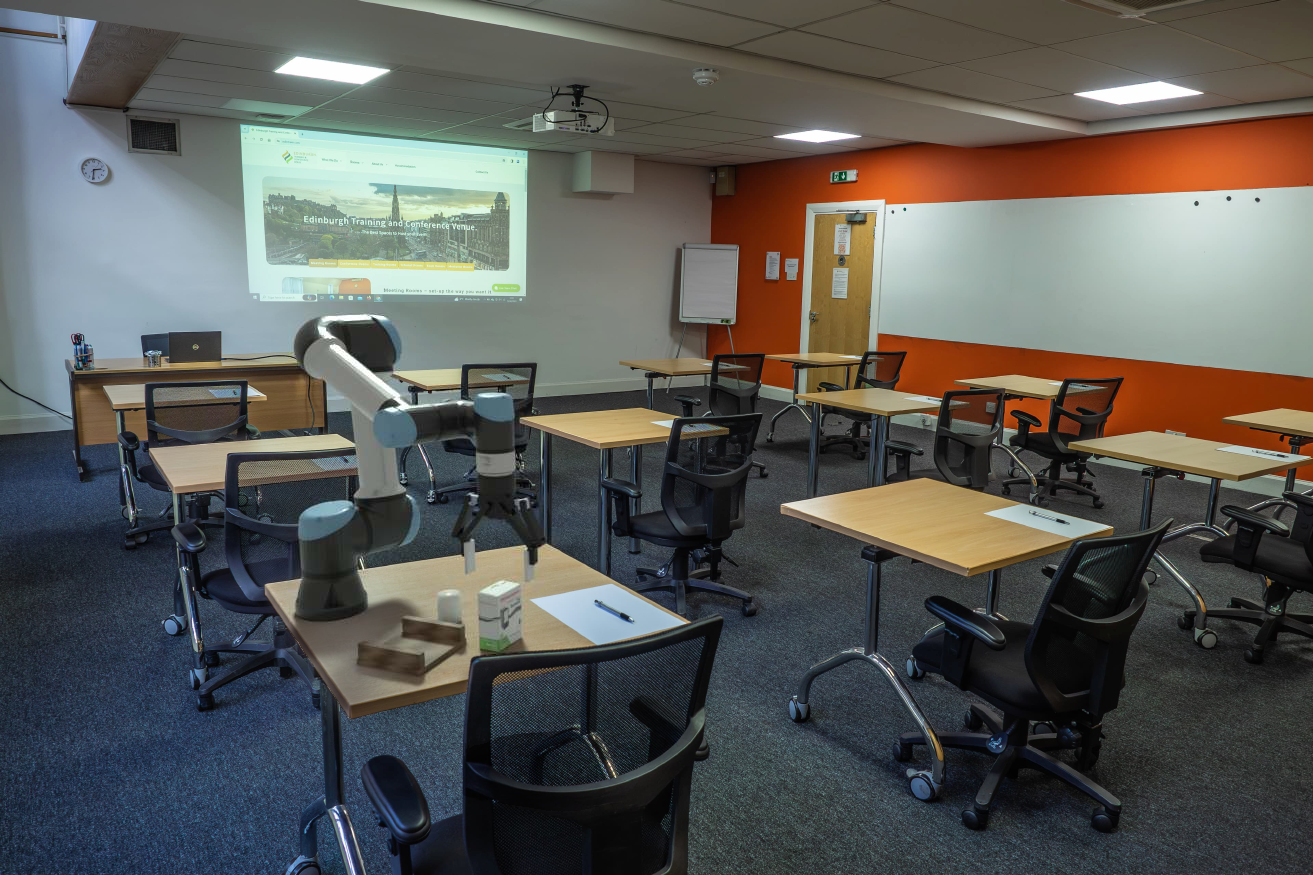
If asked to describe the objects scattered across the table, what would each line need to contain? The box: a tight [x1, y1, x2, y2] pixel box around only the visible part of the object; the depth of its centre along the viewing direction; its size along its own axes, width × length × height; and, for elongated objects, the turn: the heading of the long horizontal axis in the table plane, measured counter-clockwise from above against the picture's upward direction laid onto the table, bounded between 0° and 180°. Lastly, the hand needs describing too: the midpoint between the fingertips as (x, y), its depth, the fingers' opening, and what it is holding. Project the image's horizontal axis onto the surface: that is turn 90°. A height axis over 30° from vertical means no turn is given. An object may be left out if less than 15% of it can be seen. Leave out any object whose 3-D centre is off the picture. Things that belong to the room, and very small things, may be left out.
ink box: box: [477, 580, 523, 653], centre depth 169 cm, size 9×5×12 cm, turn 156°
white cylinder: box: [436, 589, 463, 624], centre depth 181 cm, size 5×5×6 cm
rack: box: [356, 614, 468, 677], centre depth 165 cm, size 14×16×4 cm
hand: (499, 576), depth 168 cm, fingers open, 13 cm apart
